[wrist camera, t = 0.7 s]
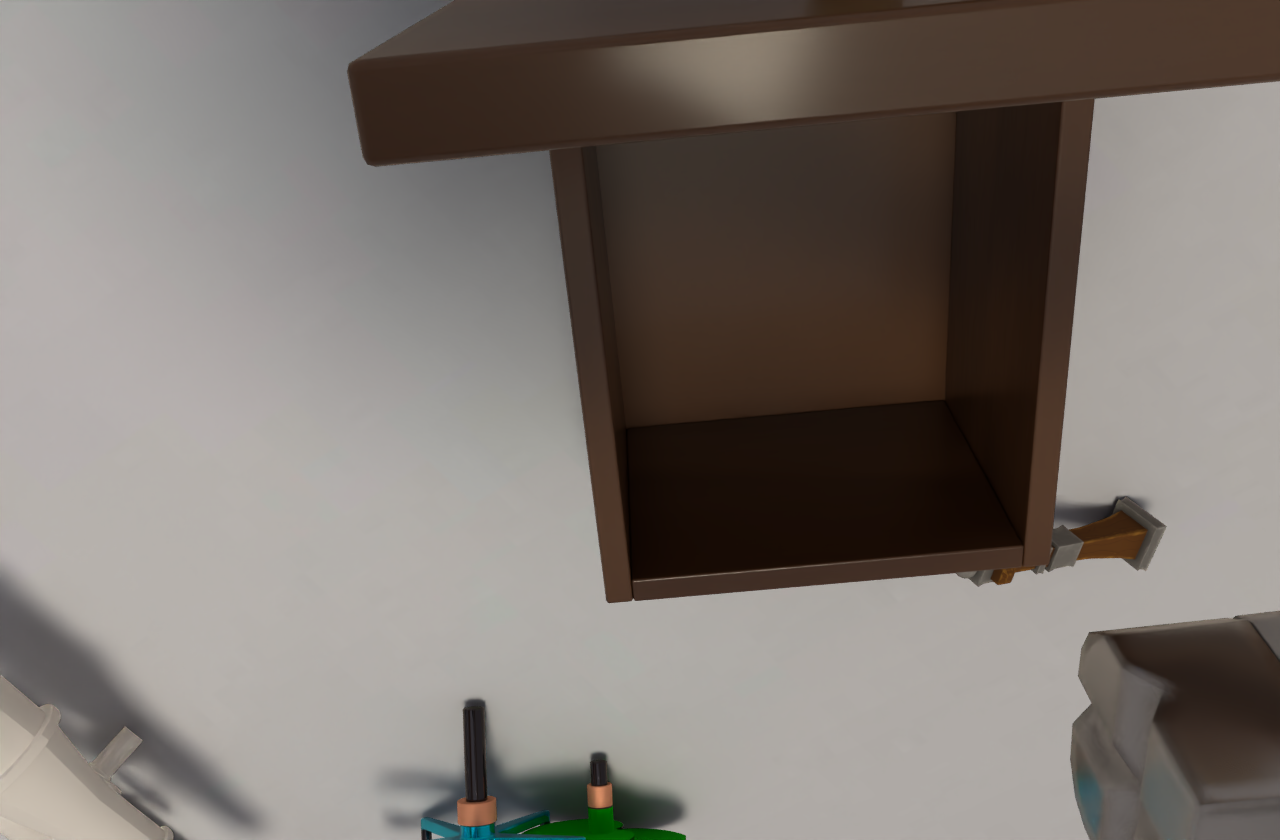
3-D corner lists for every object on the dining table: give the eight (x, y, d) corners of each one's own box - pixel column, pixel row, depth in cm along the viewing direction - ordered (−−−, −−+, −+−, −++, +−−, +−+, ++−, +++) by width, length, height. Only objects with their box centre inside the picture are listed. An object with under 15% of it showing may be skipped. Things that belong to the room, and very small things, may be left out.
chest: (960, 406, 38) (1050, 565, 30) (605, 438, 38) (606, 604, 30) (985, -119, 30) (1113, -84, 23) (545, -76, 31) (526, -27, 23)
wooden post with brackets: (893, 477, 38) (983, 560, 34) (1073, 456, 41) (1171, 530, 38) (877, 523, 39) (965, 609, 35) (1055, 499, 42) (1150, 574, 39)
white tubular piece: (228, 808, 48) (130, 926, 45) (-55, 583, 42) (-183, 703, 40) (297, 863, 41) (186, 1003, 39) (-27, 606, 36) (-178, 751, 33)
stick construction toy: (351, 894, 44) (379, 961, 37) (347, 705, 45) (373, 735, 38) (649, 849, 49) (727, 902, 41) (641, 677, 49) (716, 699, 42)
